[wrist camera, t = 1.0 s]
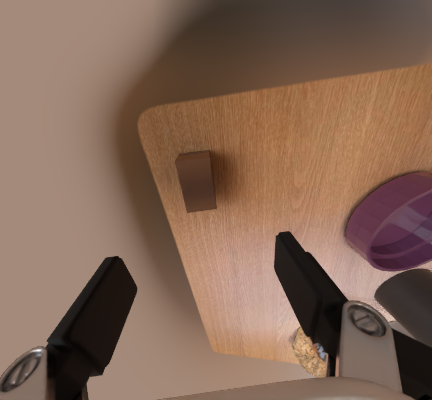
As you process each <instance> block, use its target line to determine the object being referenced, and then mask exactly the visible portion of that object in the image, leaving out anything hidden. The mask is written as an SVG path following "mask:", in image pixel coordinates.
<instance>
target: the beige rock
mask: <svg viewBox="0 0 432 400" xmlns="http://www.w3.org/2000/svg"><path fill="white" fill-rule="evenodd" d="M292 347H293V350H294V354H295V355H296V357H297V359H298V360H299V362H300V364H301V366H302V367H303V368H304V369H305V370H306V371H307V372H308V373H310V374H312V375H314V376H316V377H318V378H319V377H324V373H325V364H326V363H325V362H324V361H323V360H322V359H321V357H320V355H319V353H318V351H317V349H316V347H315V345H314V344H313V343H312V341H311V339H310V337H307V336H306V335H305V334H304V332H303V330H302V328H301V327H300V328H299V330H298V332H297V335H296V337H295V342H294V343H293V346H292Z"/></svg>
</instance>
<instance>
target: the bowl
mask: <svg viewBox="0 0 432 400" xmlns="http://www.w3.org/2000/svg"><path fill="white" fill-rule="evenodd" d="M346 240H347V242H348V245H349V246H350V247H351V248H353V249H354V250H355V251H356V252H357V253H358V254H359V255H360V256H361V257H363V258H364V259H365V260H366V261H367V262H368V263H369V264H370V265H372V266H373V267H374V268H376V269H379V270H382V271H401V270H407V269H411V268H414V267H418V266H420V265H423V264H425V263H428V262H430V261H432V173H430V172H418V173H410V174H407V175H404V176H401V177H398V178H395V179H393V180H392V181H390V182H388V183H386V184H384V185H382V186H381V187H379V188H378V189H377V190H375V191H374V192H373V193H371V194H370V195H368V196H367V197H366V198H365V199H364V201H363V202H362V203H361V204H360V205H359V206H358V207H357V208H356V210H355V211H354V213H353V214H352V216H351V217H350V219H349V222H348V225H347V227H346Z"/></svg>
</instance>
